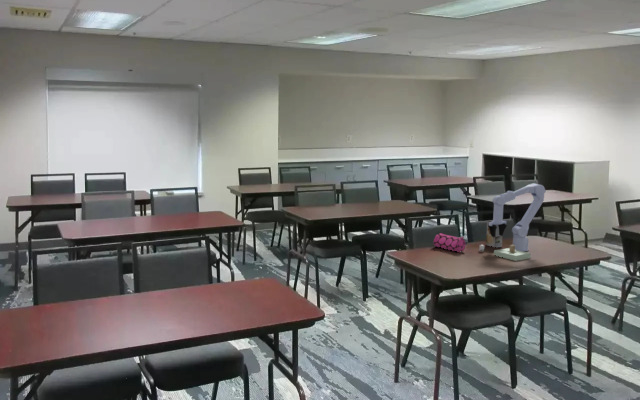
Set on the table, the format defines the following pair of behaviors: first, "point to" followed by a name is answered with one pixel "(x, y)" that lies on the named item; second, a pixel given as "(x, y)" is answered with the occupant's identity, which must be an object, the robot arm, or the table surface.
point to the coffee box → (491, 240)
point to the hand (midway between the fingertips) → (496, 236)
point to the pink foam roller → (449, 242)
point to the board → (512, 254)
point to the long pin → (512, 248)
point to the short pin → (481, 247)
